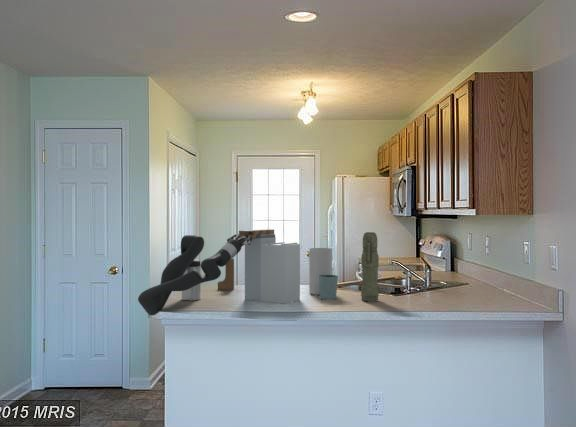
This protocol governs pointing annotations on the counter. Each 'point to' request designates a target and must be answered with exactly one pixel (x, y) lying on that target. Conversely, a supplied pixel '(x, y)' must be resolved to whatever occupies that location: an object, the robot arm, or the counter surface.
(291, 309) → the counter surface
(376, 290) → the thermos
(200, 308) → the counter surface
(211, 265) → the robot arm
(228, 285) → the wooden block
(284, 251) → the stand
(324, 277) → the teal cup
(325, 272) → the cylinder vase
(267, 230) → the walnut bar
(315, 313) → the counter surface
